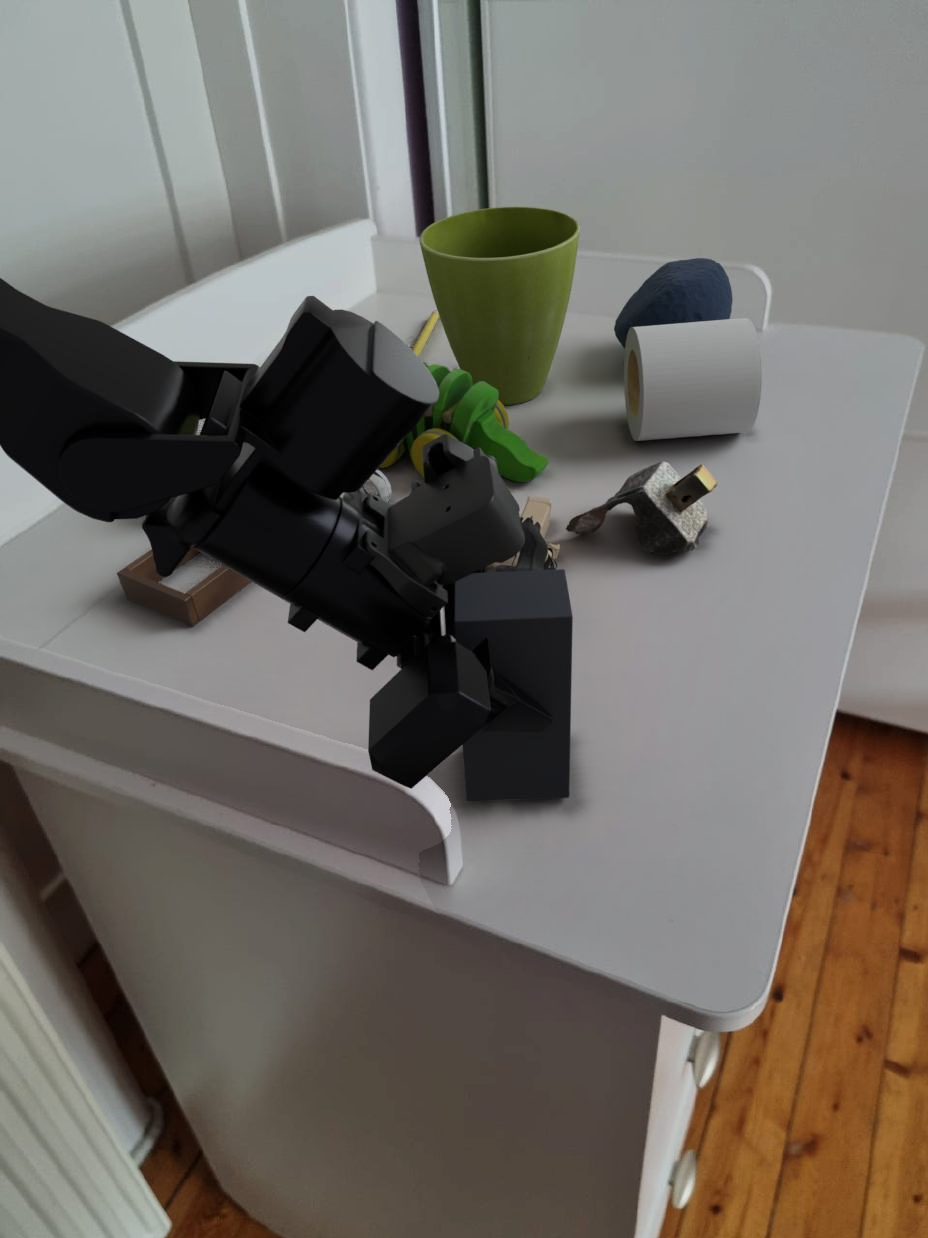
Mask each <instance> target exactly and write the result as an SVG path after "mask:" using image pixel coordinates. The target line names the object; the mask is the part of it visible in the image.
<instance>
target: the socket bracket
mask: <svg viewBox="0 0 928 1238" xmlns="http://www.w3.org/2000/svg"><path fill="white" fill-rule="evenodd" d="M199 553H200V552H199V551H197V550H196V549H194V548H192V549H191V550H190V551H189V553H188V554H187V555H186V556H185V558H184V559H183V560H182V562H181V563H180V564H179V565H178V567H177V568H176V569H175V570H177V569H178V568H179V567H181V566H182V565H184V564H185V563H186V562H188V561H190V560H191V559H192V558H194V557H195V556H197V555H198V554H199ZM116 575H117V578H118V580H119V582H120V585H121V588H122V591H123V594H124V596H125V598H126V599H127V600H130V601H132V602H134V603H137V604H138V605H141V606H144V607H146V608H148V609H151V610H153V611H154V612H157V613H160V614H162V615H164V616H166V617H169V618H172V619H174V620H176V621H178V622H181V623H183V624H185V625H188V626H190V627H192V628H193V627H195V626H196V625H198V623H199V622H202V621H203V620H204V619H206V617H208V616H209V615H210V614H211V613H213V612H214V611H215V610H217V609H218V608H219V607H221V606H222V605H223V604H225V603H226V602H227V601H229V600H230V599H231V598H232V597H234V596H235V595H236V594H238V593H239V592H240V591H242V590H243V589H244V588H245V587H246V586H248V585H249V584H250V583H252V582H251V581H250V580H248V579H246V578H245V577H243V576H241V575H239V574H238V573H236V572H234V571H232V570H231V569H229V568H227V567H225V566H224V565H221V566H219V568H217V569H216V570H214V571H213V572H212V573H210V574H208V576H206V577H204V578H203V579H202V580H201V581H200V582H198V583H197V584H195V585H194V586H193V587H191V588H190V589H189V590H187V591H186V592H185V593H184V592H182V591H179V590H177V589H174V588H172V587H170V586H167V585H166V584H165V585H164V584H162V583H160V581H161V580H163V579H164V578H165V577H162V576H160V575H158V574H157V572H156V570H155V563H154V559H153V554H152V548H151V549H149V550H148V551H146V552H145V553H143V554H142V555H140V556H139V557H138V558H136V559H135V560H133V561H132V562H130V563H129V564H128V565H126V566H125V567H123V568H121V569H119V571H117V572H116Z"/></svg>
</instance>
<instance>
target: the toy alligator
mask: <svg viewBox="0 0 928 1238" xmlns="http://www.w3.org/2000/svg"><path fill="white" fill-rule="evenodd" d="M422 362H423V363H424V364H425V366H426V367H427V369H428V370H429V371H430V373H431V374H432V376H433V378H434V380H435V381H436V384H437V387H438V389H439V398H438V400H437V402H436V403H435V404H434V405H433V407H432V408H431V409H430V410H429V411H428V412H427V413H426V414H425V416H424V417H423V418H422V419H421V420H420V421H419V422H418V424H417V425H416V426H415V427H414V428H413V429H412V430H411V432H410V433H409V434H408V435H407V436H406V437H405V438H404V440H403V441H402V442H401V443H400V444H399V445H398V446H397V448H396V449H395V450H394V451H393V452H392V453H391V454H390V456H389V457H388V458H387V459H386V460H385V461H384V462H383V464H382V465H381V466H380V467H379V468H378V469H384V468H385V469H386V468H388V467H389V466H391V465H394V464H395V463H397V461H398V460H399V459H400V458H401V457H402V455H403V454H404V453H405V452H406V451H408V453H409V456H410V460H411V462H412V464H413V465H414V468H415V470H416V471H417V472H418V473H419V475H420V476H421V477H423V478H424V469H423V450H422V447H423V446H424V445H425V444H427V443H429V442H431V441H432V440H434V439H436V438H438V437H440V436H442V435H443V434H447V435H449V436H451V437H453V438H455V439H456V440H458V441H460V442H462V443H463V444H465V445H467V446H469V447H471V448H472V449H473V450H475V449H477V448H479V447H480V448H481V450H482V451H483V453H484V454H485V455H490V456H493V457H494V458H495V459H496V461H497V467H498V473H499V475H500V476H501V477H504V478H505V479H508V480H510V481H513V482H518V483H525V482H530V481H531V480H533V479H535V478H536V477H538V476H539V475H540V474H541V473H542V472H543V471H544V470H545V468H547V466H548V465H549V459H548V457H546V456H545V455H542V454H540V453H538V452H535V451H534V450H533V449H532V448H530V446H529V445H528V444H527V443H526V442H525V441H524V440H523V439H522V437H521V436H519V435H517V433H515V432H512V431H510V430H509V428H510V427H509V426H510V419H509V415H508V411H507V409H506V407H505V405H503V404H502V403H501V402H500V401H499V400H498V395H499V392H498V390H497V389H495V388H494V387H492V386H490V385H489V384H487V383H486V382H484V381H480V382H478V383H476V384H474V385H473V383H472V376H471V375H470V374H469V373H468V372H466V371H463V370H461V369H460V368H456V369H453V370H450V369H449V368H448V367H447V366H445V365H441V364H436V363H435V364H431V365H429V364H428V363H427V362H425V361H422ZM472 385H473V386H472Z"/></svg>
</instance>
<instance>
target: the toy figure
mask: <svg viewBox="0 0 928 1238" xmlns="http://www.w3.org/2000/svg"><path fill="white" fill-rule="evenodd" d="M551 509H552V499H551V498H548V497H538V496H531V495H530V496H527V501H526V504H525V505H524V508H523V510H522V512H521V514H520V521H521V526H522V530H523V532H524V535H525V543H524V545H523V547H522V549H521V550H520V551H519V552H518V553H517V554H516V555H515V556H514V557H512V558H510V559H509V560H507V561H505V562H503V563H498V562H495V563H493V564H491V565H489V566H486V567H484V568H482V569H481V572H482V573H488V572H511V571H533V570H556V569H557V568H558V563H557V562H556V560H557V559H558V556H559V554H560V549H561V545H560V544H559V543H556V544H553V543H550V542H549V543H547V542H546V540H545V538H546V535H547V533H548V530H549V527H550V517H551V511H552V510H551ZM553 560H554V561H553Z"/></svg>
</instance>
